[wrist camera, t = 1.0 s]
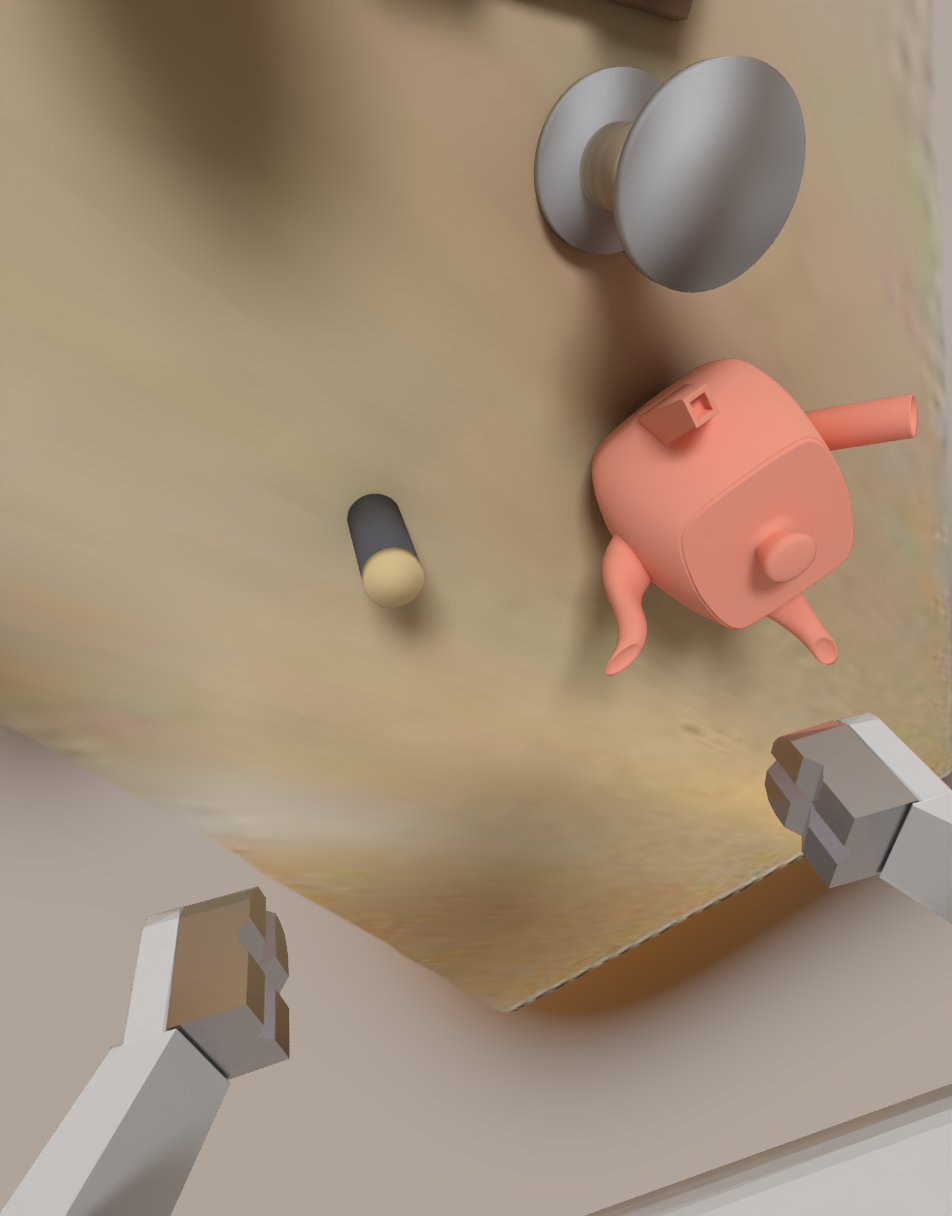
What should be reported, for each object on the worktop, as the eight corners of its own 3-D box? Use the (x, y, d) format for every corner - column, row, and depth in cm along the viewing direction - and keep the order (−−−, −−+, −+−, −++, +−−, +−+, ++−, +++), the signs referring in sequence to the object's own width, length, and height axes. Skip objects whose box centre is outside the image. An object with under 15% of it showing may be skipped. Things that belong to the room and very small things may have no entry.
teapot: (732, 568, 58) (843, 673, 47) (536, 569, 52) (611, 689, 41) (829, 351, 48) (998, 423, 37) (598, 322, 42) (720, 398, 31)
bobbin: (519, 240, 38) (600, 279, 29) (554, 49, 33) (661, 31, 25) (649, 261, 40) (756, 302, 32) (697, 87, 36) (839, 82, 27)
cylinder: (345, 540, 46) (361, 608, 40) (349, 492, 44) (366, 556, 38) (397, 541, 47) (420, 607, 41) (402, 494, 45) (428, 556, 39)
